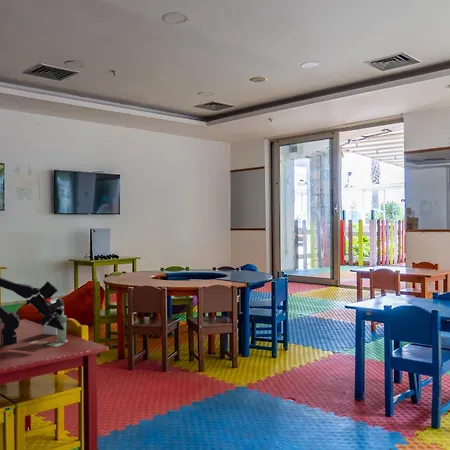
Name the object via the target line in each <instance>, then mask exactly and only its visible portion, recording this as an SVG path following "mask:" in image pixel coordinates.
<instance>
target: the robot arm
mask: <svg viewBox="0 0 450 450" xmlns="http://www.w3.org/2000/svg"><path fill="white" fill-rule="evenodd" d="M0 288H3V289H5V290H8V291H11V292H14V293H15V294H17V295H18V296H20V297H21V298H23V299H26V300H25V302H26V304H25V306H30V305H32V307H34V309H36V310H37V313H38V314H41V315H42V316H43V317H42V318H41V319H40V320H39V324H40V325H41V326H42V327H44V325H45V323H47V322H48V324H47V325H48V326H51V327H54V328H57V329H60V330H63V329H64V328H63V326H62V325H61V324H60V322H59V321H58V320H57V316H60V315H62V314H63V313H62V312H63V311H64V312H65V308H64V309H63V308H60V307H62V306H64V307H65V303H64V302H65V300H63V299H62V298H59V297H58V299H57V300H56V302H55V303H53V304H51V303H50V301H49V302H48V301H47V299H49V300H50V299H52V297H54V295H55V294H56V293H57V292H58V291H59V290H58V288H57V287H56V286H55V285H54V284H52V283H51V282H50V281H48V280H47V281H45V283H44V285H42V286H41V287H40V288H39V287H33V286H32V285H31V284H26V283H16V282H14V281H11V280H8V279H5V278H2V277H0ZM19 317H20V316H19V314H17V313H16V312H14V310H11V311H10V312H9V311H7V310H6V309H5V308H4V307H3V306H2V305H0V320H1V322H2V323H3V324H4V325H2V328H1V329H0V347H2V346H7V345H8V346H9V345H16V344H17V343H18V342H17V340H18V337H17V336H18V335H17V332H16V331H15V330H16V329H18V328H19V326H20V323H21V319H20V318H19ZM66 328H68V326H67V325H66Z"/></svg>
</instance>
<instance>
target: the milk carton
mask: <svg viewBox="0 0 450 450" xmlns="http://www.w3.org/2000/svg"><path fill="white" fill-rule="evenodd" d="M57 299H59V297H54V298H50V299H49V302H50V303H51V304H53V303H55V302H56V300H57ZM64 307H65V305H64V306H62V307H60V308H63V309H64V311H63V312H62V313H63V314H62V315H65V308H64ZM47 324H48V322H47V323H45V325H44V326H43V335H48V336H49V335H50V336H57V328H54V327H51V326H48V325H47Z"/></svg>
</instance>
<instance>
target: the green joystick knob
mask: <svg viewBox="0 0 450 450" xmlns="http://www.w3.org/2000/svg"><path fill="white" fill-rule="evenodd" d="M57 320H58V321H59V322H60V324H61V325H62V326H63V328H64V329H63V330H60V329H57V335H56V337H57V338H56V339H57V340H56V341H57V342H56V343H58V342H62V343H66V342H65V341H66V340H67V327H66V326H67V321H68V320H67V315H66V314H64V315H60V316H57Z"/></svg>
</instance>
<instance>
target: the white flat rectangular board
mask: <svg viewBox="0 0 450 450" xmlns="http://www.w3.org/2000/svg"><path fill="white" fill-rule="evenodd" d="M67 342H68V339H66V341H65V342H57V340H55V342H54V341H53V342H51V343H49V341H43V340H42V341H41V340H33V341H30V342H27V344H29V345H38V346H39V345H44V344H45V345H46V346H48V347H56V348H57V347H58V348H59V347H60V346H63V345H65V343H67Z"/></svg>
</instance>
